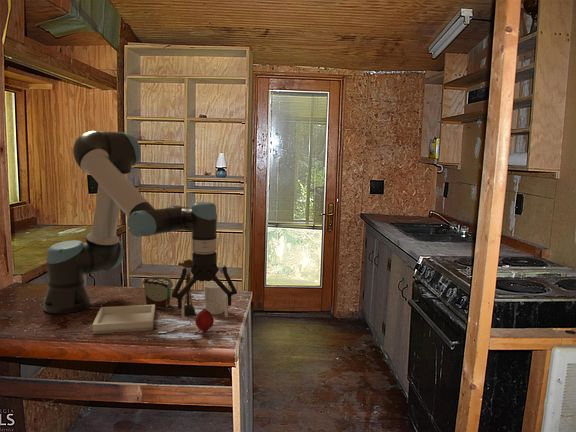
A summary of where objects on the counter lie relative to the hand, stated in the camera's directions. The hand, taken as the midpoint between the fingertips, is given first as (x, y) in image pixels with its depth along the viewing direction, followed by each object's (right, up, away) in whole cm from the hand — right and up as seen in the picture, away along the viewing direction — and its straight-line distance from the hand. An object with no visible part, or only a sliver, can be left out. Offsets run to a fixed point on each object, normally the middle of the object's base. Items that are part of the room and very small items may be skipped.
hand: (204, 316), depth 142 cm
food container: (-21, -1, +24) cm, 32 cm away
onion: (0, -5, +1) cm, 5 cm away
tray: (-28, -3, +6) cm, 29 cm away
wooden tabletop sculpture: (-9, -3, +16) cm, 19 cm away
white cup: (0, -3, +19) cm, 20 cm away
